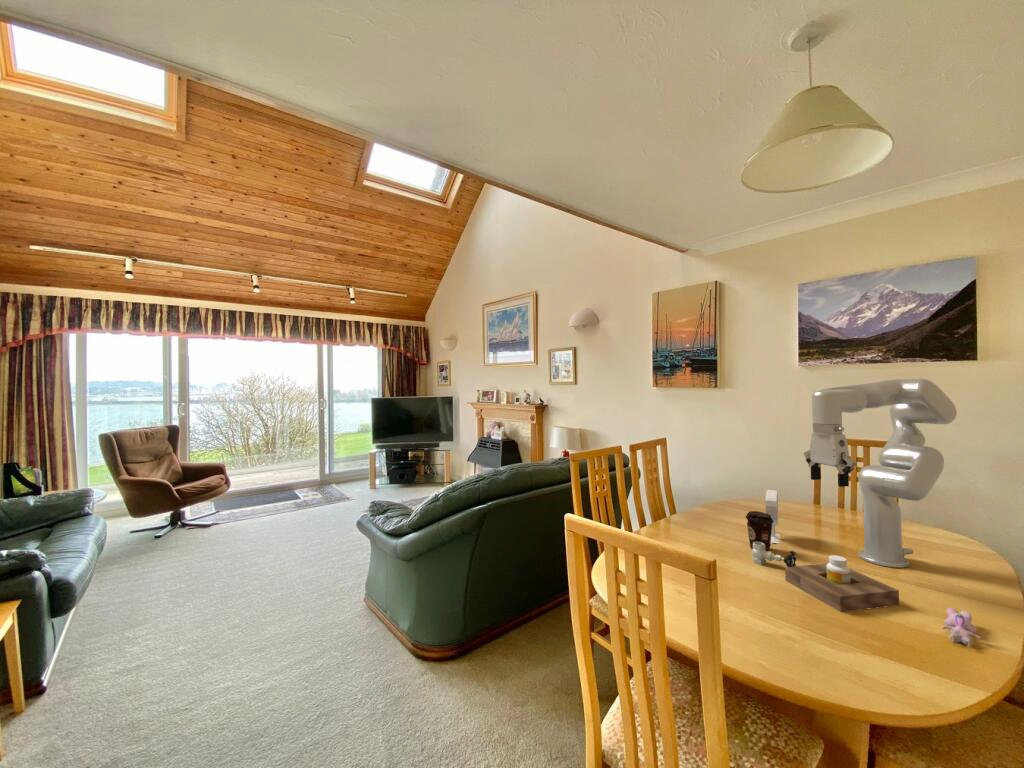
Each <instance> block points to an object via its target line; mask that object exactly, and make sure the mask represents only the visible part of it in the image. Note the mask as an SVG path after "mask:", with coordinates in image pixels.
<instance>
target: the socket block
mask: <svg viewBox="0 0 1024 768" xmlns="http://www.w3.org/2000/svg"><path fill="white" fill-rule="evenodd" d="M827 564H828V563H820V564H810V565H809V564H807V565H798V566H797V565H796V566H795V567H787V566H785V567H784V569H785V571H784V573H785V574H784V575H785V581H786V582H787V581H788V582H787V583H789V584H791V585H792V586H795V587H796V588H798V589H799V590H802V591H803V592H805V593H806V594H809V595H811V596H812V597H814V598H816V599H818V600H819V601H820V602H822V603H824V604H826V605H828V606H829V607H831V608H832V609H835V610H837V611H838V612H841V613H843V612H851V611H860V609H862V610H868V609H867V608H871V609H877V608H876V607H880V608H885V607H884V606H889V607H894V606H893V605H898V606H900V592H899V589H896V588H894V587H892V586H890V585H887V584H885V583H883V582H881V581H879V580H876V579H874V578H873V577H871V576H870V577H869V576H867V575H865V574H863V573H861V572H858V571H857V570H854V569H852V568H849V567H848V568H849V569H850V579H851V584H843V585H838V584H836V583H834V582H832V581H830V580H828V579H827V568H826V567H827Z"/></svg>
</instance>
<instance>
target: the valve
mask: <svg viewBox="0 0 1024 768" xmlns="http://www.w3.org/2000/svg"><path fill="white" fill-rule="evenodd" d="M751 554H752V562H753V563H754V564H755V565H759V566H765V565H766V564H767V561H769V562H772V561H774V560H775V561H778V562H779V563H780V562H782V561H783V563H784V564H785V565H786V567H795V566H797V564H796V562H797V557H796V555H797V553H796V551H793V550H790V551H789V554H787V556H784V557H782V555H779V554H774V553H773V551H771V550H770V551H768V552H767V551H765V544H764V543H762V542H753V549H751Z"/></svg>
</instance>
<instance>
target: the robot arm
mask: <svg viewBox="0 0 1024 768" xmlns="http://www.w3.org/2000/svg"><path fill="white" fill-rule="evenodd" d="M888 406H890V407H889V416H890V419H891V424H892V425H891V426H892V428H893V429H892V430H893V432H892V434H891V436H890V438H889V439H888V440H887V442H886V443H885V445H884V446H883V447H882V449H881V450H880V452H879V454H878V463H879V464H880V465H877V464H875V465H874V464H873V465H872V464H871V465H866V466H863V467H862V468H861V469H860V471H859V473H858V478H857V479H858V483H859V487H860V491H861V497H862V506H863V508H862V509H863V540H864V541H863V543H864V545H863V546H864V549H862V550H859V551H858V556H859V557H860V558H861V559H862V560H864V561H866V562H868V563H871V564H874V565H879V566H884V567H889V568H907V567H909V566H910V562H909V560H908V558H905V556H906V555H913V554H914V550H913V549H912V548H911V547H905V548H904V547H903V535H902V534H903V533H902V532H903V531H902V528H903V527H902V511H901V507H900V504H899V503H898V501H897V500H896V499H901V500H906V501H910V502H919V501H923V500H924V499H926V497H928V494H929V493H930V492H931V491H932V488H933V487H934V485H935V484H936V482H937V481H938V479H939V478H940V476H941V474H942V472H943V470H944V467H945V466H944V465H945V460H944V456H943V454H942V453H941V451H939V450H938V449H936V448H934V447H932V446H925V444H926V437H925V435H924V434H923V432H922V431H921V430H920V429H919V428H918V427H917V426H916V424H926V425H929V424H930V425H948V424H951V423H952V422H953V421H955V420H956V417H957V412H958V410H957V408H956V406H955V404H954V402H953V400H952V399H950V397H949V396H948V395H947V394H946V393H945V391H943V390H942V389H941V388H940V387H939V386H938V385H936V383H934V382H933V381H931V380H929V379H926V378H905V379H903V378H901V379H900V378H899V379H897V378H896V379H888V380H882V381H876V382H868V383H860V384H852V385H848V386H835V387H830V388H823V389H819V390H816V391H813V392H812V394H811V410H812V411H811V414H812V432H811V436H810V442H809V443H810V444H809V450H806V451H805V452H803V455H804V458H805V461H806V463H807V464H808V467H809V468H810V480H812V481H817V480H822V474H821V467H820V466H821V465H824V466H829V467H835V468H836V470H837V472H839V473H837V486H838V487H840V488H844V487H849V486H850V484H849V483H850V480H849V479H850V477H849V474H851V472H852V471H853V470H854V468H855V466H856V464H857V461H856V459H853V458H852V457H850V450H849V445H848V440H847V437H846V435H845V434H843V432H844V431H845V428H844V426H843V416H842V415H843V413H847V414H849V413H850V414H854V413H855V414H856V413H858V412H859V413H860V412H861V411H863V410H865V409H879V408H883V407H888ZM895 498H896V499H895Z"/></svg>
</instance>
